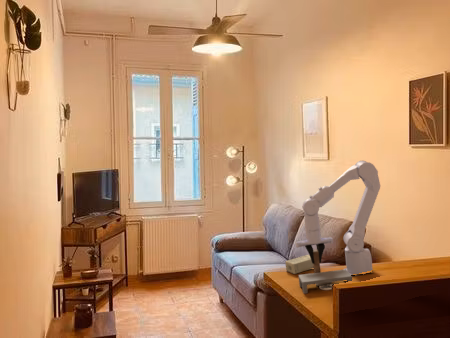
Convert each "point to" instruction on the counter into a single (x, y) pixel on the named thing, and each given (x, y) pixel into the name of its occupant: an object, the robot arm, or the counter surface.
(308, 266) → the skincare box
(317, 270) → the brown piece
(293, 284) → the counter surface
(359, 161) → the robot arm
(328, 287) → the steel token
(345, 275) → the u-shaped block
